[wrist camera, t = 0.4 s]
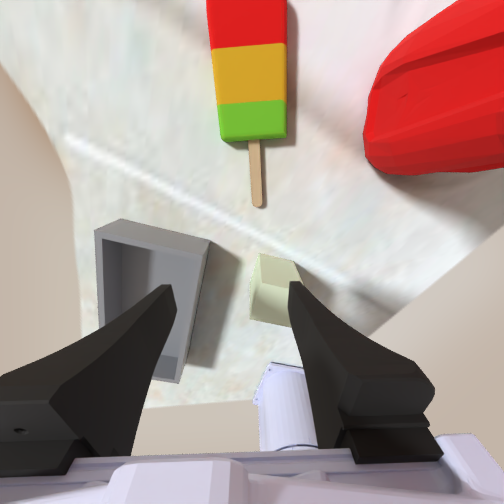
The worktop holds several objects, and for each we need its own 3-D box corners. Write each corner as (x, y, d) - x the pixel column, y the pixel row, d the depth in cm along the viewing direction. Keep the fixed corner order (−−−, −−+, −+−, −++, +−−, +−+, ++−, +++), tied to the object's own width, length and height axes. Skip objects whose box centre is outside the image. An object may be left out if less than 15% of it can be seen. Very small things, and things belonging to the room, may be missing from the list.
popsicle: (284, -11, 14) (288, -35, 13) (284, 202, 20) (287, 206, 19) (206, -4, 14) (200, -27, 13) (230, 206, 21) (228, 210, 19)
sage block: (282, 290, 24) (291, 327, 19) (249, 282, 24) (249, 319, 18) (293, 261, 23) (307, 292, 17) (259, 252, 22) (261, 282, 17)
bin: (187, 356, 29) (178, 383, 25) (120, 345, 28) (101, 371, 24) (210, 240, 21) (202, 255, 18) (120, 218, 20) (94, 230, 17)
